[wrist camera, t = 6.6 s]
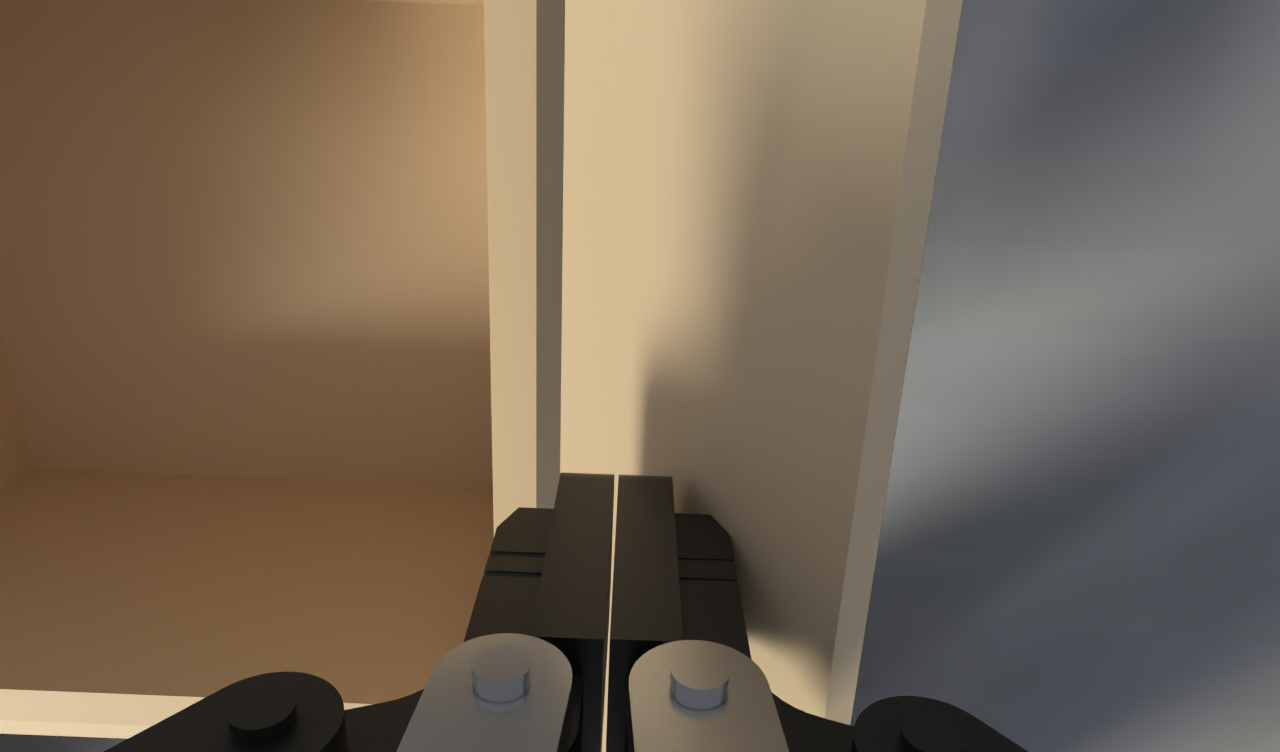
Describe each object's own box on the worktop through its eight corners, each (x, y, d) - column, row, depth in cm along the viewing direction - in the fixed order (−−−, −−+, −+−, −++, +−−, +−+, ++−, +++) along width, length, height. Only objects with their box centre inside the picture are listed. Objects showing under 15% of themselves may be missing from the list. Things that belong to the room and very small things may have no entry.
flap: (769, 1105, 12) (793, 1091, 12) (931, -41, 7) (968, -37, 7) (557, 746, 18) (576, 740, 18) (565, -22, 13) (590, -20, 13)
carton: (583, -43, 23) (536, -92, 13) (573, 517, 28) (536, 758, 19) (-107, -74, 23) (-639, -144, 13) (22, 494, 28) (-286, 725, 19)
